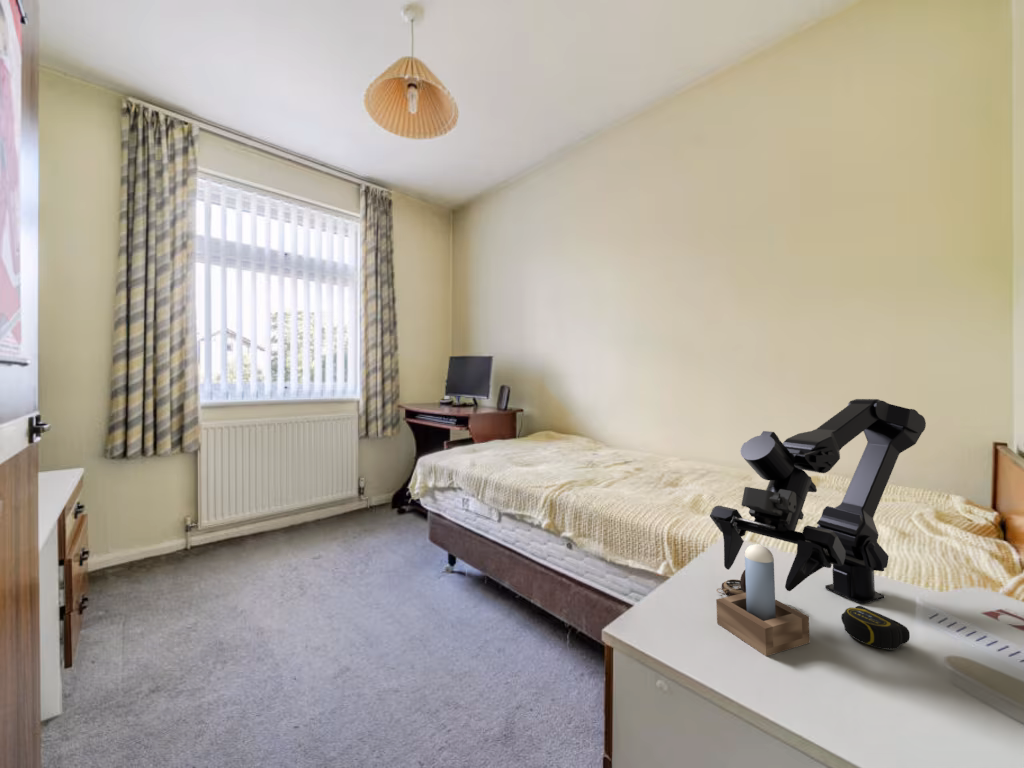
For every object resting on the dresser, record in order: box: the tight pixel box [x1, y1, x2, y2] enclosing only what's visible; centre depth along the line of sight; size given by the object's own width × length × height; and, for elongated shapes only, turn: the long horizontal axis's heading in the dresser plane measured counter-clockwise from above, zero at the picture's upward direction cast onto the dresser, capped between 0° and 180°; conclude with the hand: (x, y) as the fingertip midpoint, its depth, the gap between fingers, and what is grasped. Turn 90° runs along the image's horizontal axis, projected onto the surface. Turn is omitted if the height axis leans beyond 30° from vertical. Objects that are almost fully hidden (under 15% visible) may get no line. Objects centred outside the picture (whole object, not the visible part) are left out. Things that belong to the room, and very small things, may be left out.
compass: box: [716, 569, 746, 596], centre depth 77 cm, size 8×8×7 cm
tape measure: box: [841, 605, 910, 650], centre depth 63 cm, size 7×7×4 cm
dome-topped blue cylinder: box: [744, 543, 776, 621], centre depth 65 cm, size 4×4×13 cm
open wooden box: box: [716, 593, 811, 657], centre depth 65 cm, size 9×9×4 cm
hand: (755, 578), depth 64 cm, fingers open, 9 cm apart
